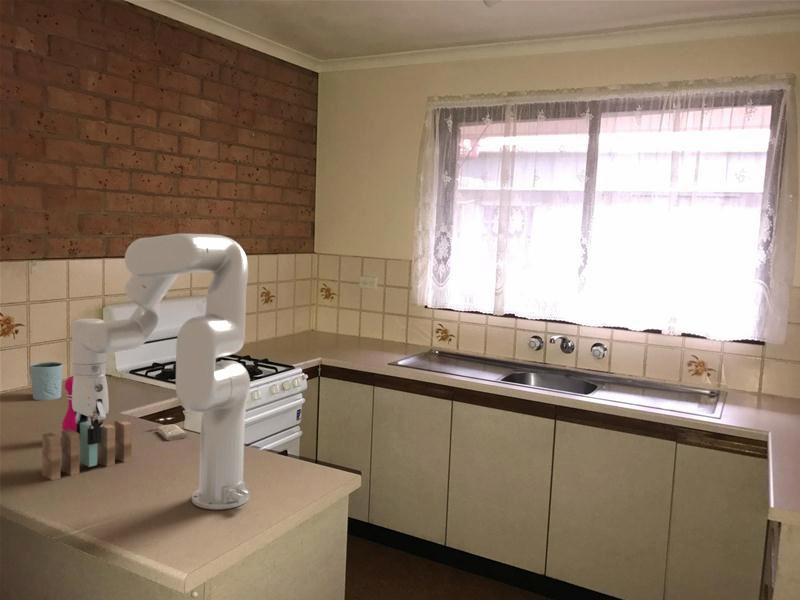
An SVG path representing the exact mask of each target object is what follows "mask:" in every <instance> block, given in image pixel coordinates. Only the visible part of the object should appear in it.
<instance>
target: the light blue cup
mask: <svg viewBox="0 0 800 600" xmlns="http://www.w3.org/2000/svg"><path fill="white" fill-rule="evenodd" d="M63 366H64V363H63V362H57V361H46V362H45V361H44V362H43V361H42V362H36V363H32V364H30V365H29V372H30V382H31V392H32V399H33V400H34V399H35V401H41V400H44V401H52V400H53V401H54V400H58V399H60V398H62V385H63Z"/></svg>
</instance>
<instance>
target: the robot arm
mask: <svg viewBox="0 0 800 600" xmlns="http://www.w3.org/2000/svg"><path fill="white" fill-rule="evenodd" d="M247 258H248V257H247V255H246V253H245V251H244V249H243V248H242V246H241V245H240V244H239V243H238V242H237V241H235V240H234V239H232V238H230V237H227V236H224V235H222V234H221V235H219V234H211V233H174V234H173V233H171V234H166V235H164V234H163V235H158V236H151V237H150V236H149V237H142V238H138V239H135V240H134V241H133V242H131V243H130V244H129V246H128V248H127V249H126V251H125V254H124V265H125V268H126V270H128V271H129V273H130V274H132V275H131V276H130V277H129V279H128V280H127V282H126V284H125V286H124V291H125V293H126V294H125V295H126V296H127V297H128V298H129V299H130V301H132V302H133V303H134V304H136V305H137V307H136V309H135V310H134V312H133V313H132V314H131V316H130V317H129V318H128V319H117V320H111V321H110V320H109V321H105V320H103V319H100V318H87V317H86V318H78V319H76V320H74V322H73V323H72V342H71V343H72V348H71V350H72V353H71V354H72V357H71V358H72V360H71V361H72V362H71V365H72V366H71V367H72V368H71V369H72V370H71V371H72V374H71V375H72V376H74V377H73V386H72V408H73V410H74V412H75V416H76V420H75V421H76V423H78V424H76V432H77V433H79V434H80V423H82V422H87V421H88V422H89V429H88V433H87V444H89V445H92V444H96V443H100V442H101V427H102V423H104V422H105V420H106V419H107V415H108V414H109V409H110V408H109V389H108V382H107V381H108V380H107V376H106V375H107V370H106V369H107V354H113V353H118V352H123V351H128V350H134V349H137V348H139V347H142V345H144V344H145V343H146V341H148V339H150V337H151V336H152V334H153V333H154V331H155V330H156V329H157V327H158V325H159V323H160V319H161V318H160V316H161V305H160V303H161V302H162V299H163V298H164V297H165V295H166V294H167V292H168V291H169V290H170V288H171V287H172V285H173V284H174V283H175V281H176V280H177V278H178V277H179V276H180V275H183V274H202V273H203V274H204V273H211V274H212V275H213V277H212V278H211V280H210V282H209V284H208V287H207V291H206V295H205V312H204V315H198V316H193V317H191V318H189V319H188V320H186V321H185V322H183V324H182V325H181V327H180V329H179V331H178V334H177V338H176V346H175V347H176V348H175V354H176V355H175V392H176V393H175V394H176V397H177V401H178V402H179V404H180V405H181V407H182V408H183V409H185V410H186V411H188V412H190V413H197V414H198V413H202V416H201V420H200V421H201V422H200V434H199V435H200V437H199V438H200V440H199V481H198V482H199V483H198V484H199V485H198V486H199V487H198V489H197V490H195V491H193V493H192V494H191V502H192V504H193V505H195V506H197V507H199V508H201V509H204V510H205V509H206V510H215V511H217V510H228V509H229V510H230V509H234V508H237V507H240V506H242V505H244V504H246V503H247V502H248V501H249V499H250V497H251V494H252V493H251V492H250V491H249V490H248V489H247V488H246V482H245V481H244V454H245V453H244V451H245V449H244V448H245V426H246V425H245V422H246V421H245V420H246V412H247V411H246V409H247V403H248V399H249V394H250V389H251V378H250V374H249V372H248V370H247V368H246V367H245V366H244V365H243V364H242V363H239V362H238V361H235V360H221V361H217V359H219V358H223V357H227V356H231V355H234V354H237V353H238V352H240V351H241V350H242V349H243V346H244V344H245V339H246V315H247V314H246V313H247V312H246V310H247V309H246V308H247V301H246V300H247V299H246V298H247V286H248V279H249V261H248V259H247ZM72 376H71V377H72ZM95 418H96V419H95ZM93 419H94V420H93Z"/></svg>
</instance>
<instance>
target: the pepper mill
mask: <svg viewBox="0 0 800 600" xmlns="http://www.w3.org/2000/svg"><path fill="white" fill-rule="evenodd" d="M73 377H74V376H70V377H68V378H66V380H65V382H64V389H65V391H66V392H67V393H66V399H67V400H68V407H67V411H66V413H65V414H64V415H65V416H64V417H63V421H62V423H61V424H62V426H61V428H62V431H63V430H68V429H70V430H73V431H75V432H76V424H78V423H76V421H75V420H76V416H75V412H74V410H73V408H72V386H73Z"/></svg>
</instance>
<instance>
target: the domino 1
mask: <svg viewBox="0 0 800 600" xmlns="http://www.w3.org/2000/svg"><path fill="white" fill-rule="evenodd" d="M41 436H42V442H41V443H42V445H41V446H42V447H41V449H42V450H41V451H42V453H41V454H42V456H41V458H42V461H41V462H42V463H41V464H42V465H41V466H42V467H41V469H42V473H41V475H42V476H43V477H45V478H47V479H49V480H51V481H55V480H59V479H61V472H62V471H61V447H62V436H59V435H57V434H55V433H52V432H49V433H43V434H42V435H41Z"/></svg>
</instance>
